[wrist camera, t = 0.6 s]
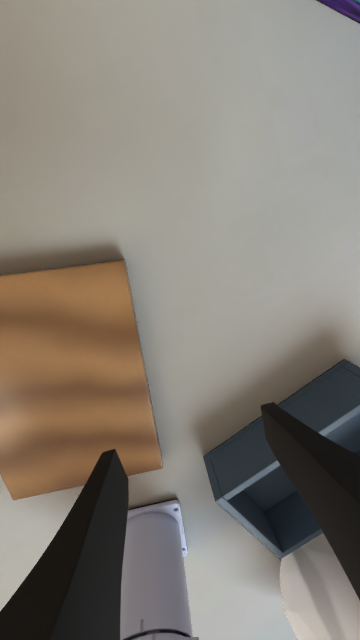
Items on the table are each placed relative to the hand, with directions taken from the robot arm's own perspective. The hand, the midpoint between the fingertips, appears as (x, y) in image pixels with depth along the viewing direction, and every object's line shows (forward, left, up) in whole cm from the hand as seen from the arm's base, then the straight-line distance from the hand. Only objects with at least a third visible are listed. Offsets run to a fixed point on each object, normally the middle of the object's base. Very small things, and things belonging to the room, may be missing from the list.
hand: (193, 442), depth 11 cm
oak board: (-2, +9, -10) cm, 14 cm away
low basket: (-14, -13, -10) cm, 21 cm away
